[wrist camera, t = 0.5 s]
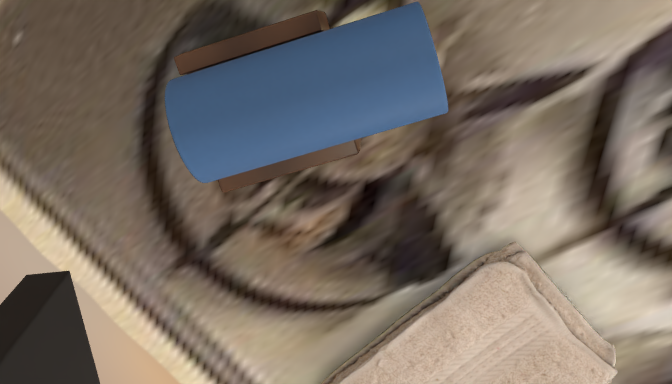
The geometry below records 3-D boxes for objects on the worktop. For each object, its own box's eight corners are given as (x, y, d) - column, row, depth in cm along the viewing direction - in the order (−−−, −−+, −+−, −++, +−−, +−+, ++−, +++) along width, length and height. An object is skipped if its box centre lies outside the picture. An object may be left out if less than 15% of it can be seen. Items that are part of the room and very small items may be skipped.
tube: (414, 3, 33) (422, -2, 28) (441, 105, 34) (454, 120, 29) (186, 75, 35) (152, 84, 29) (220, 170, 36) (193, 195, 31)
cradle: (325, 11, 38) (315, 9, 32) (362, 136, 40) (359, 155, 34) (203, 50, 39) (172, 55, 33) (245, 170, 41) (222, 194, 35)
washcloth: (620, 348, 43) (638, 373, 40) (421, 492, 47) (424, 524, 44) (507, 225, 41) (517, 241, 38) (310, 386, 45) (305, 411, 42)
